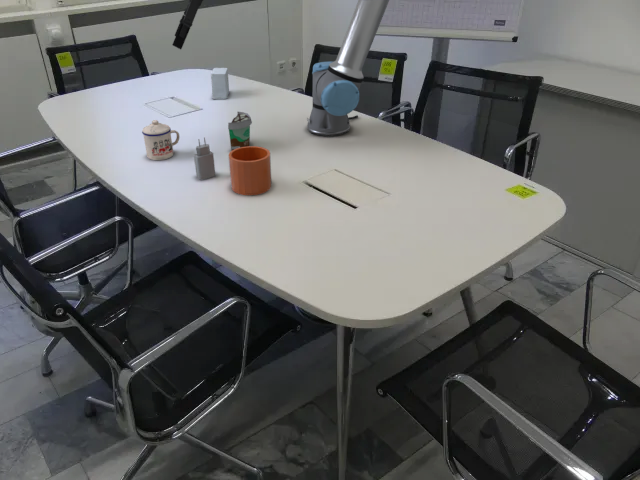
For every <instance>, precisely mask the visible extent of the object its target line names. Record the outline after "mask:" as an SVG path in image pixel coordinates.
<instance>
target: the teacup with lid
mask: <svg viewBox="0 0 640 480" xmlns="http://www.w3.org/2000/svg"><path fill="white" fill-rule="evenodd" d="M141 133H142V135H143V141H144V147H145V152H146V157H147V158H148V159H149V160H151V161H164V160H167V159H170V158H171V157H173V156H174V147H173V146H176V145H177V144H178V143H179V141H180V138H181V137H180V133H179V132H178V131H177V130H176V129H171V127H170V125H168V124H166V123H162V122H159V120H158V119H153V120H152V121H151V123H149V124H148V125H146V126H144V127H143V128H142V131H141ZM172 134H176V137H175V138H176V139H175V140H174V141H173V140H172Z"/></svg>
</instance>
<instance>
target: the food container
mask: <svg viewBox="0 0 640 480" xmlns="http://www.w3.org/2000/svg"><path fill="white" fill-rule="evenodd" d="M236 114H237V115H235V117H233V119H232V121H231V122H227V124H228V125H227V129H228V132H229V134H228V135H229V141H230V142H229V143H230V150H231V151H232V150H234V149H236V148H240V147H246V146H251V144H250V143H251V142H250V140H251V125H252V124H253V121H252V118H251V116H250V114H249V113H247V112H244V111H237V113H236ZM231 151H230V152H231Z"/></svg>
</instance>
